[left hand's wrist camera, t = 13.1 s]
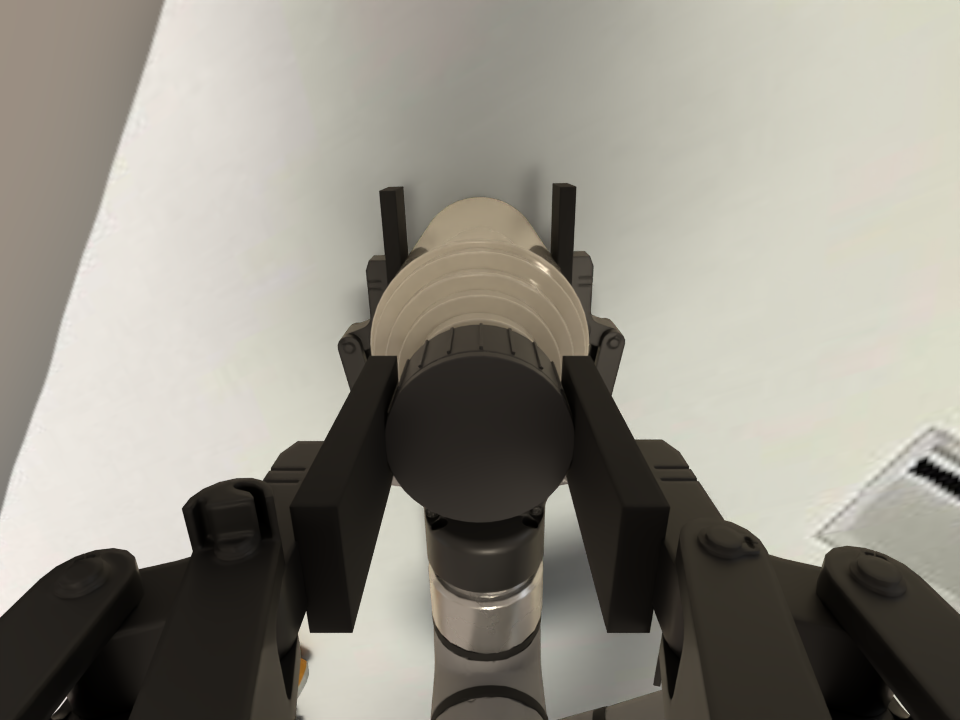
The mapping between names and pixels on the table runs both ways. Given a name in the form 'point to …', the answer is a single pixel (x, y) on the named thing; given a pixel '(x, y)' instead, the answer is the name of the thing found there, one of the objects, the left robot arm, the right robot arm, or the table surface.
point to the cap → (479, 425)
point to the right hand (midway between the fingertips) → (477, 187)
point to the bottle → (479, 285)
